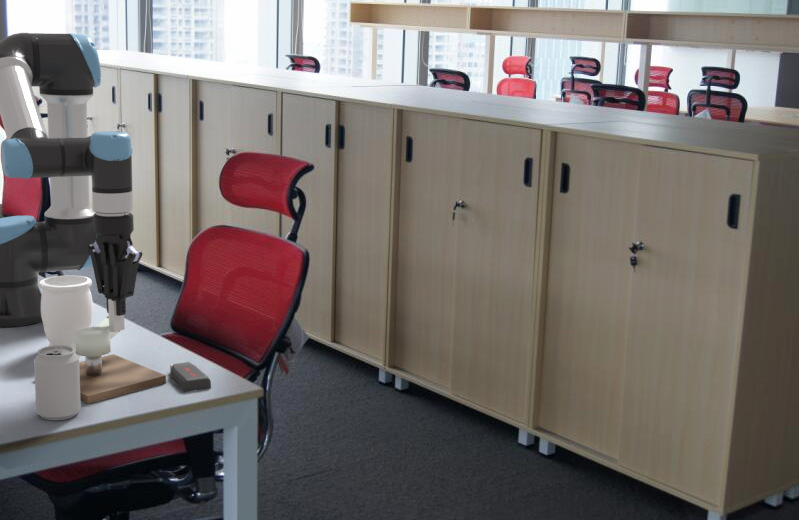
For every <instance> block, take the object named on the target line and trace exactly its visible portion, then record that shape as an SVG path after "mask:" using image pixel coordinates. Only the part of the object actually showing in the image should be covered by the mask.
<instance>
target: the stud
mask: <svg viewBox="0 0 799 520" xmlns="http://www.w3.org/2000/svg"><path fill="white" fill-rule="evenodd" d="M84 357H85V358H84V361H85V362H86V375H87V376H99V375H101V374H102V357H103V355H102V356H94V357H87V356H84Z"/></svg>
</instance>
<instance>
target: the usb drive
mask: <svg viewBox="0 0 799 520" xmlns="http://www.w3.org/2000/svg"><path fill="white" fill-rule="evenodd" d="M169 366H170V369H169V374H170V379H171V380H172V381H173V383H175V384H176V385H177V386H178V387H179V388H180V389H181V390H182V392H184V393H187V392H195V390H196V391H203V390H208V389H209V388H210V389H211V388H212V381H211V378H210V377H209V376H208V375H206V374H205V373H204V372H203V371H202V370H201V369H200V368H199V367H197V365H195V364H193V363H192V362H189V361H187V362H186V361H185V362H179V363H172V364H170V365H169Z"/></svg>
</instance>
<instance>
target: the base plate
mask: <svg viewBox="0 0 799 520" xmlns="http://www.w3.org/2000/svg"><path fill="white" fill-rule="evenodd" d="M79 371H80V400H81V402H82V403H83V402H84V403H86V404H87V405H90V404H93V403H97V402H100V401H104V400H107V399H111V398H115V397H118V396H119V397H120V396H122V395H127V394H129V393H130V394H131V393H133V392H138V391H141V390H144V389H148V388H152V387H155V386H159V385H162V384H163V385H164V384H166V383H167V375H166V374H163V373H161V372H159V371H157V370H154V369H151V368H149V367H146V366H144V365H140V364H138V363H136V362H134V361H132V360H128V359H126V358H123V357H122V356H119V355H116V354H114V353H113V354H107V355H103V356H102V374H101V375H99V376H87V375H86V362H85V360H83V361H79Z"/></svg>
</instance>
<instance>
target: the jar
mask: <svg viewBox="0 0 799 520" xmlns="http://www.w3.org/2000/svg"><path fill="white" fill-rule="evenodd" d="M92 281H93V280H92V279H91V278H90V277H87V276H83V275H57V276H50V277H46V278H43V279H41V280H40V281H39V288H41V290H42V292H41V294H42V296H41V317H42V321H41V322H42V324H43V329H44V335H45V336H46V337H45V338H46V339H47V341H48V342H49V344H48V346H55V345H64V346H70V347H73V348H74V349H75V353H76V341H75V331H77V330H78V329H81V328H86V327H92V320H93V313H94V304H93V295H92V293H91V289H90V287H91V286H92V284H93V282H92Z"/></svg>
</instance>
